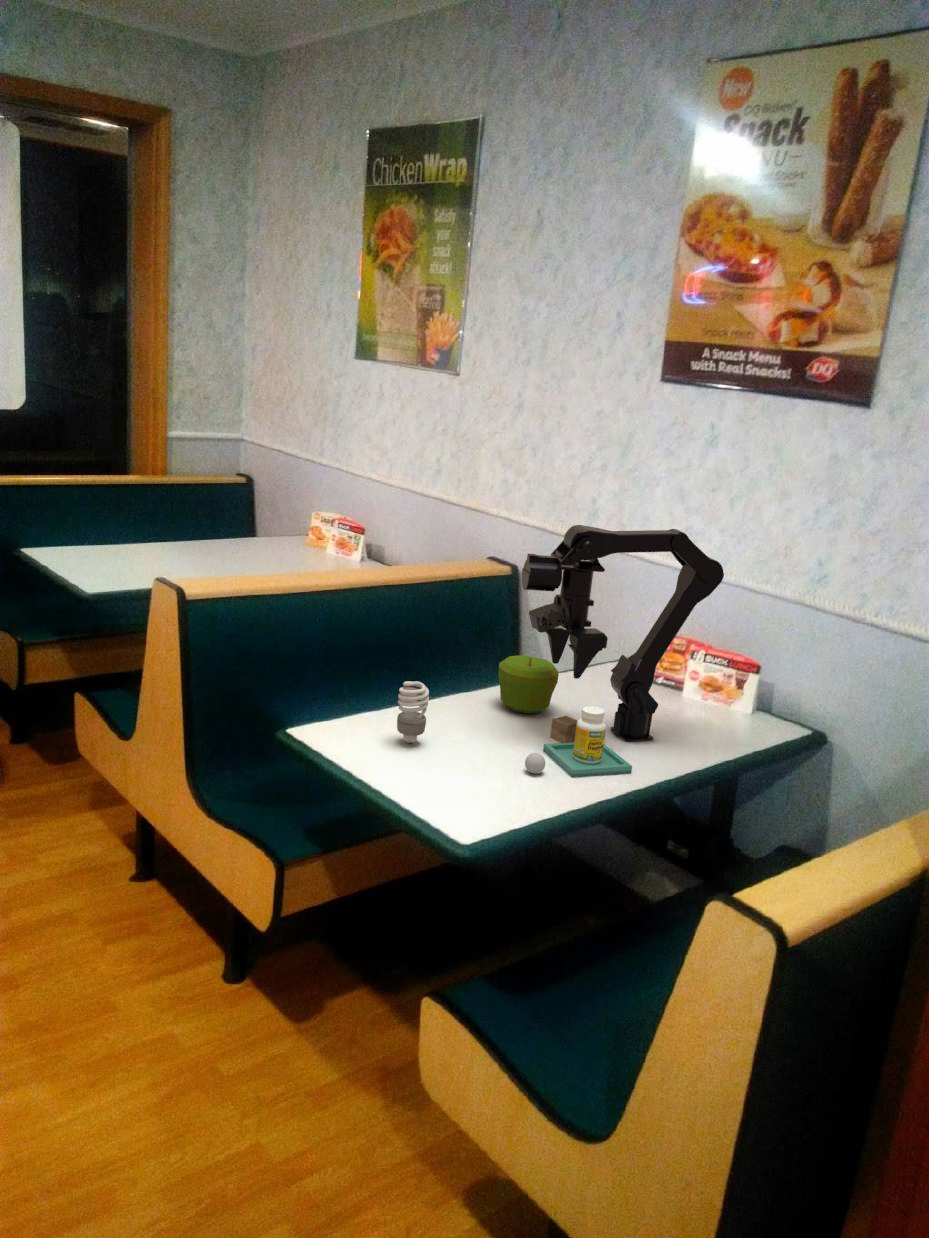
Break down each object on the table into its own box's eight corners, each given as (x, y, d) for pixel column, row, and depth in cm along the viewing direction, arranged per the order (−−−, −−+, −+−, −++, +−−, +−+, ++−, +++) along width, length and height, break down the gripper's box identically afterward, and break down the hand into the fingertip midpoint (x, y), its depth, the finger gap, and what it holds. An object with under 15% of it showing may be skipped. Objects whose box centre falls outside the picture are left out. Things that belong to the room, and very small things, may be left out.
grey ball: (538, 767, 174) (541, 749, 173) (547, 776, 170) (549, 757, 170) (520, 769, 172) (522, 750, 171) (529, 777, 169) (531, 758, 168)
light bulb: (430, 742, 181) (435, 681, 178) (416, 751, 176) (421, 688, 173) (403, 735, 183) (408, 674, 180) (388, 744, 178) (393, 682, 175)
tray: (599, 747, 186) (600, 740, 186) (631, 773, 175) (632, 766, 175) (543, 750, 182) (543, 743, 181) (572, 777, 171) (572, 770, 170)
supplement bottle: (588, 751, 182) (595, 703, 179) (607, 762, 178) (614, 713, 175) (566, 755, 179) (572, 706, 176) (585, 766, 175) (592, 716, 172)
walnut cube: (564, 734, 191) (566, 715, 190) (579, 741, 189) (581, 721, 188) (549, 738, 189) (552, 718, 188) (565, 745, 186) (567, 725, 185)
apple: (483, 702, 205) (488, 651, 202) (527, 695, 212) (533, 646, 209) (520, 722, 195) (526, 669, 192) (565, 714, 202) (572, 663, 200)
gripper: (517, 580, 190) (508, 656, 194) (559, 605, 173) (549, 687, 177) (568, 581, 194) (558, 655, 198) (613, 605, 177) (602, 686, 181)
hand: (565, 670), depth 188 cm, fingers open, 9 cm apart
